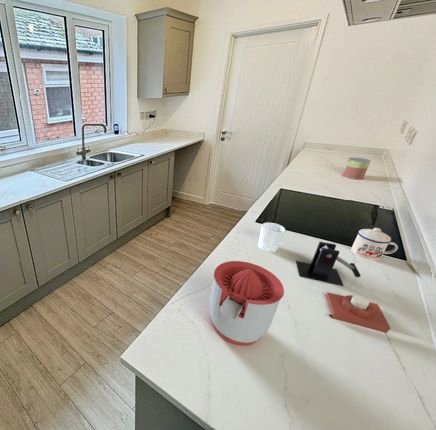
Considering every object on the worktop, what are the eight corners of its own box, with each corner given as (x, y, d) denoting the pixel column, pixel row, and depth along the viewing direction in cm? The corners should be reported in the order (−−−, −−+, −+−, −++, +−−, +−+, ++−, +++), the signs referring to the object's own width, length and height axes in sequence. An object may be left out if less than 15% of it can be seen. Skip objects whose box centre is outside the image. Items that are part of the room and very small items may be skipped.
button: (364, 302, 74) (366, 297, 74) (368, 311, 72) (371, 306, 71) (348, 298, 76) (350, 294, 75) (352, 307, 73) (354, 302, 72)
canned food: (344, 173, 187) (351, 156, 182) (365, 176, 180) (372, 159, 174) (340, 176, 181) (346, 159, 176) (361, 180, 173) (368, 162, 168)
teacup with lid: (352, 258, 99) (365, 231, 93) (346, 246, 106) (358, 220, 100) (394, 267, 93) (411, 239, 88) (386, 254, 101) (400, 227, 95)
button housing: (374, 309, 77) (380, 299, 75) (386, 333, 69) (393, 322, 68) (324, 297, 81) (329, 287, 79) (331, 318, 74) (336, 308, 72)
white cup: (266, 256, 101) (273, 233, 96) (251, 245, 108) (257, 224, 103) (283, 252, 103) (290, 230, 98) (267, 242, 110) (273, 221, 105)
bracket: (335, 272, 92) (348, 243, 86) (342, 288, 85) (356, 258, 79) (295, 263, 96) (305, 236, 91) (298, 278, 89) (309, 249, 84)
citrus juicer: (190, 331, 71) (200, 273, 62) (220, 298, 82) (232, 244, 73) (250, 371, 61) (272, 309, 52) (275, 327, 72) (296, 269, 63)
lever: (350, 268, 88) (357, 263, 86) (356, 278, 83) (363, 274, 82) (318, 246, 89) (324, 241, 88) (322, 255, 84) (328, 251, 83)
